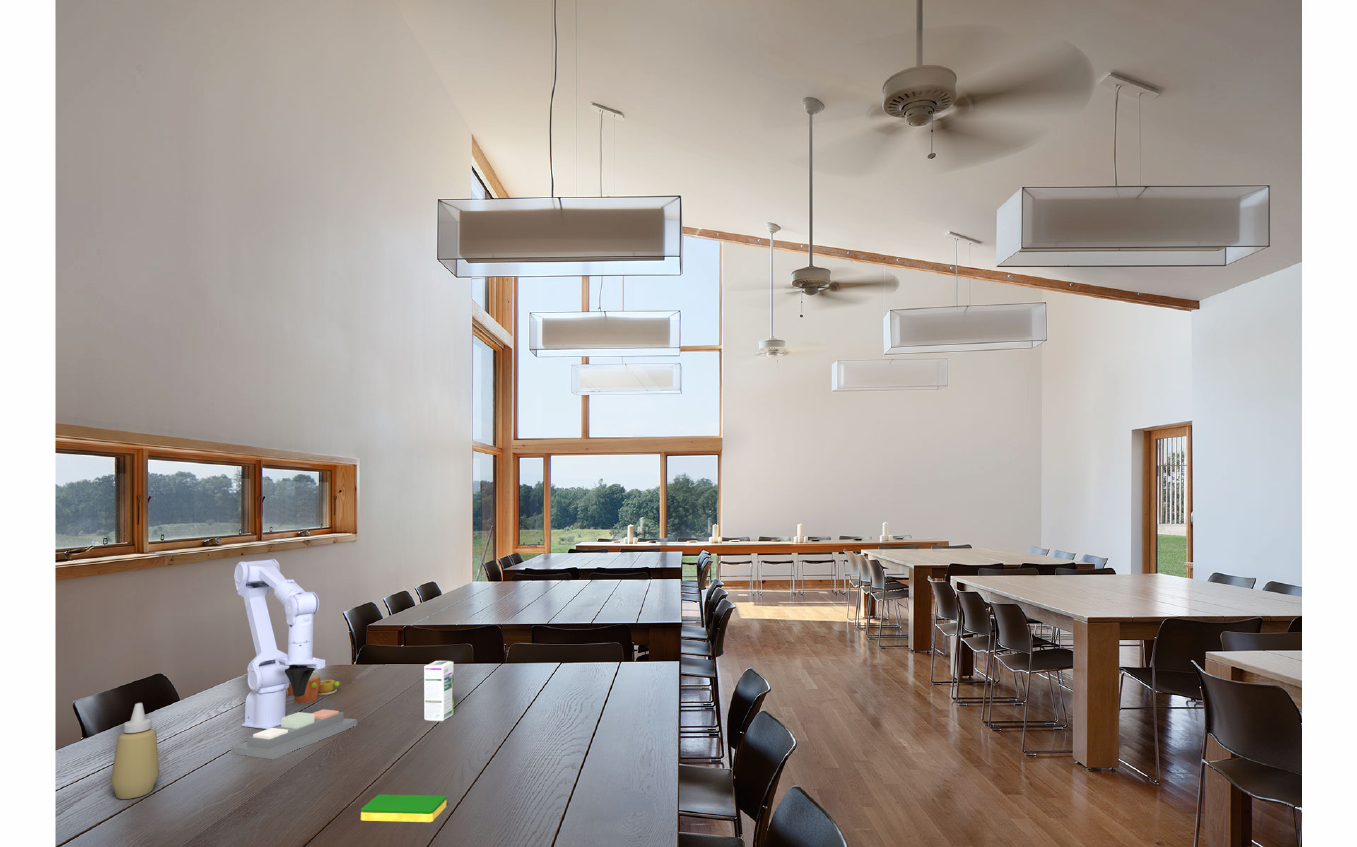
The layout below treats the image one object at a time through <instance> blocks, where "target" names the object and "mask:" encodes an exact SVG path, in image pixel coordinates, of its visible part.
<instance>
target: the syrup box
mask: <svg viewBox="0 0 1357 847" xmlns="http://www.w3.org/2000/svg"><path fill="white" fill-rule="evenodd" d="M423 670H424V671H423V672H424V673H423V678H424V679H423V683H424V685H423V688H424V691H423V692H424V694H423V698H424V700H423V702H424V705H423V706H424V707H423V709H424V712H423V714H424V715H423V716H424V718H423V719H424V721H431V722H444V721H446V720H447V719H448V718H450V717H452V716H454V714H455V713H454V712H455V711H454V710H455V707H454V706H455V705H454V704H455V701H454V700H455V697H454V696H455V695H454V694H455V693H454V688H455V686H454V684H455V683H454V680H455V679H454V660H453V661H452V660H435V661H433V662H430V663H429V664H427V665H424V668H423Z"/></svg>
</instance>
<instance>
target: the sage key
mask: <svg viewBox="0 0 1357 847" xmlns="http://www.w3.org/2000/svg"><path fill="white" fill-rule="evenodd" d="M314 716H315V714H312V713H310V712H301V711H298V712H295V713H292V714H289V715H285V717H283V718H281V727H286V728H295V729H298V728H301V727H304V726H306V725H309V724H312V723H314Z"/></svg>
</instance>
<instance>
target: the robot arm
mask: <svg viewBox="0 0 1357 847" xmlns="http://www.w3.org/2000/svg"><path fill="white" fill-rule="evenodd" d="M233 579H234V583H235V588H236V591H237V595H238V596H239V597H241V598H243V602H244V607H245V611H246V617H247V619H248V624H249V630H250V633H251V638H252V642H253V647H254V650H255V651H254V652H255V654H256V656H255V657H254V658H253V659H252V660H251V661H250V662H249V663H248V666H247V668H246V670H247V685H248V687H249V688H250V690H251V691H250V692H249V693H247V694H248V695H247V696H246V698H245V708H244V722H243V723H242V724H241V727H246V728H257V729H264V730H267V729H270V728H275V727H278V726H280V725H281V718H283V717H286V705H287V704H286V701H287V697H286V696H287V688H288V687H289V684H290V683H291V686H292V690H293V694H294V696H293V697H294V698H295V697H299V696H302V695H304V693H305V690H306V686H307V683H308V681H309V678H310V676H311V674H312V673H313V672H314V671H315V670H321V669H324V668H326V659H321V658H318V657H314V656H313V654H314V622H315V621H314V620H315V619H314V618H315V617H314V616H315V615H316V614H317V613H318V611H319V608H320V607H319V606H320V600H319V597H318V595H317V593H315V592H314V591H306V590H305V589H303V588H302V587H301V586H300V585H299V584H298V583H297V582H296V581H295V579H292V578H291V579H286V577H285V576H284V575H283V574H282V573H281V566H280V563H279V562H278V560H276V559H275V558H271V559H265V560H263V559H262V560H252V561H251V560H250V561H244V560H243V561H239V562H238V563H237V564H236V566H235V568H234V574H233ZM273 590H274V592H273V594H274V595H273V596H274V597H275V598H276V599H277V600H278V601H279V602H280V603H281V604H282V605H283V606H284V607H283V608H284V613H285V616H286V620H285V621H286V624H287V625H288V638H287V639H288V641H287V642H288V643H287V653H286V652H284V651H282V650H279V649H278V646H277V643H276V638H275V635H274V634H275V633H274V631H273V625H272V621H271V617H270V613H269V609H268V604H267V600H266V595H268V594H269V593H271V592H272V591H273Z"/></svg>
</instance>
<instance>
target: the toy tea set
mask: <svg viewBox="0 0 1357 847" xmlns="http://www.w3.org/2000/svg"><path fill="white" fill-rule="evenodd" d="M339 686H340V681H338V680H337V681H336V680H334V679H322V680H321V676H320V675H319V674H317V673H316V672H314V671H313V673H312V674H311V676H310V678H309V681H308V683H307V686H306V690H305V693H304V695H302V696H299V697H294V694H293V690H292V686H291V683H290V684H289V687H288V688H286V691H287V695H288V696H293V697H294V702H295V703H296V704H308V703H312V702H315V701H317V700H318V697H321V696H329V695H332V694H335V693H337V690H338V689H337V688H338V687H339ZM336 687H337V688H336Z"/></svg>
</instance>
